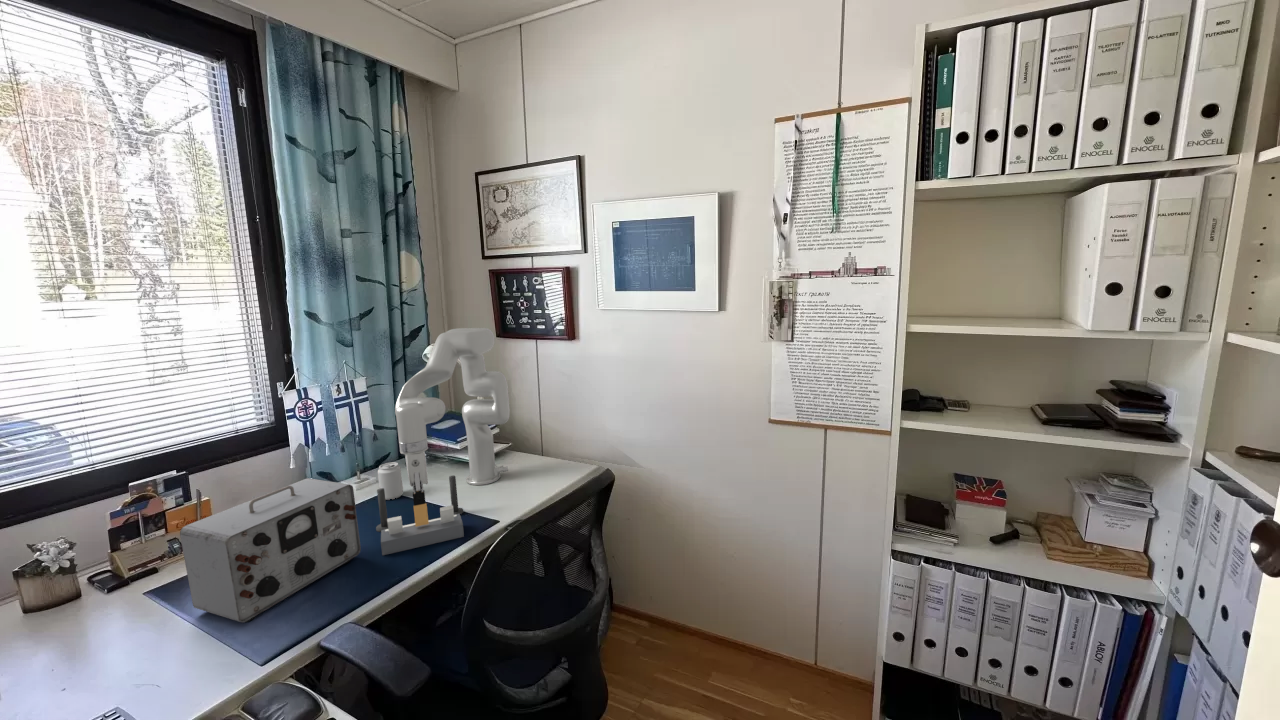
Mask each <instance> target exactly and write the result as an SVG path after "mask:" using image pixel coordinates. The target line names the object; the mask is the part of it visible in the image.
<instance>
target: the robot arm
mask: <svg viewBox="0 0 1280 720" xmlns="http://www.w3.org/2000/svg"><path fill="white" fill-rule="evenodd" d="M495 340H496V339H495V335H494V333H493V331H492V330H491V329H490V328H488V327H472V328H471V327H470V328H469V327H466V328H465V327H460V328H459V327H457V328H451V329H448V330H447V331H445V332H442V333H440V334H439V335H438V336H437V337H436V340H435V342H434V345H433V348H432V350H431V353H430V355H429V357H428V359H427V363H426V365H425V366H424V368H422V369H421V370H420V371H418V372H417V373H416V374H414V375H413V376H412V377H410V378H409V379H408V380H407V381H406V382H405V383H404V385H403V386H402V388H401V390H400V392H399V395H398V397H397V399H396V403H395V407H394V409H395V410H394V415H395V416H396V417H395V418H396V426H397V434H398V445H399V452H400V454H401V455H404V457H405V463H406V464H405V465H406V470H407V471H406V473H407V477H408V482H409V487H411V488H412V490H413V491H412V498H413V499H412V501H413V506H416V505H421V504H425V503H427V502H426V495H425V489H424V485H428V484H429V479H428V468H427V458H426V453H425V452H426V451H427V450H428V449H429V447H428V437H427V436H428V435H427V426H426V425H428V424H431V423H432V424H433V423H437V422H438V421H440V420H441V419H442V418H443V417H444V416H445V413H446V405H445V402H444V401H443V400H442V399H441V398H438V397H424V396H422V397H421V396H420V397H419V395H420V394H422V393H423V392H425V391H426V390H428V389H430V388H432V387H435V386H437V385H440V384H442V383H445V382H447V381H448V380H450V379H451V378H452V377H453V374H454V371H455V368H456V365H457V363H458V359H459V362H460V367H461V376H462V385H463V390H464V393H465V394H466V395H467V396H469V397H476V398H475V399H470V400H467V401H466V402H465V403H464V404H463V405H462V407H461V414H462V415H461V416H462V420H463V423H464V426H465V432H466V441H467V442H466V443H467V453H468V464H469V465H468V466H469V475H467V477H466V478H465V479H466V483H467V484H469V485H472V486H485V485H489V484H492V483H495V482H497V481H498V480H499V479H500V478H501V473H502V472H503V473H506V472H509V468H508V466H504V465H499V466H497V465H496V461H495V459H496V458H495V457H496V456H495V447H494V446H495V445H494V434H493V431H492V429H491V428H490V426H489V425H493V426H495V425H504V424H506V423H507V422H508V421H509V419H510V413H511V412H510V411H511V410H510V399H509V387H508V380H507V378H506V375H505V374H504V373H502V371H496V370H491V371H490V370H489V371H487V369H486V362H485V359H486V358H485V356H484V354H486V353H488V352H490V351H491V350H492V349H493V347H494V345H495ZM477 397H479V398H480V397H482V399H479V398H477ZM483 397H484V398H485V397H486V398H487V397H489V399H488V398H487V399H486V398H485V399H483ZM490 398H491V399H490Z"/></svg>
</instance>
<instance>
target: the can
mask: <svg viewBox="0 0 1280 720" xmlns="http://www.w3.org/2000/svg"><path fill="white" fill-rule="evenodd" d="M377 479H378V486H379V487H378V489H381V488H384V491H385V500H387V501H390V499H392V500H396V499H398V498H400V497H401V496H402V495H403V494H404V487H403V476H402V469H401V466H400V465H399V463H398V462H397V461H396V462H395V461H393V462H385V463H383V464H381V465H379V467H378V470H377ZM395 498H396V499H395Z"/></svg>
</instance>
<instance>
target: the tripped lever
mask: <svg viewBox="0 0 1280 720" xmlns="http://www.w3.org/2000/svg"><path fill="white" fill-rule="evenodd" d="M427 504H428V503H427V502H426V503H425V504H421V505H416V506H414V505H413V513H414V523H415V526H416V527H417V526H421V525H426V524H429V522H428V520H429V515H428V506H427Z"/></svg>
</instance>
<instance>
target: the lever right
mask: <svg viewBox="0 0 1280 720" xmlns="http://www.w3.org/2000/svg"><path fill="white" fill-rule="evenodd" d="M439 513H440V515H439V516H440V518H441V523H446V522H451V521H454V510H453V505H452V504H451V505H448V506H443V507H439Z"/></svg>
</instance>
